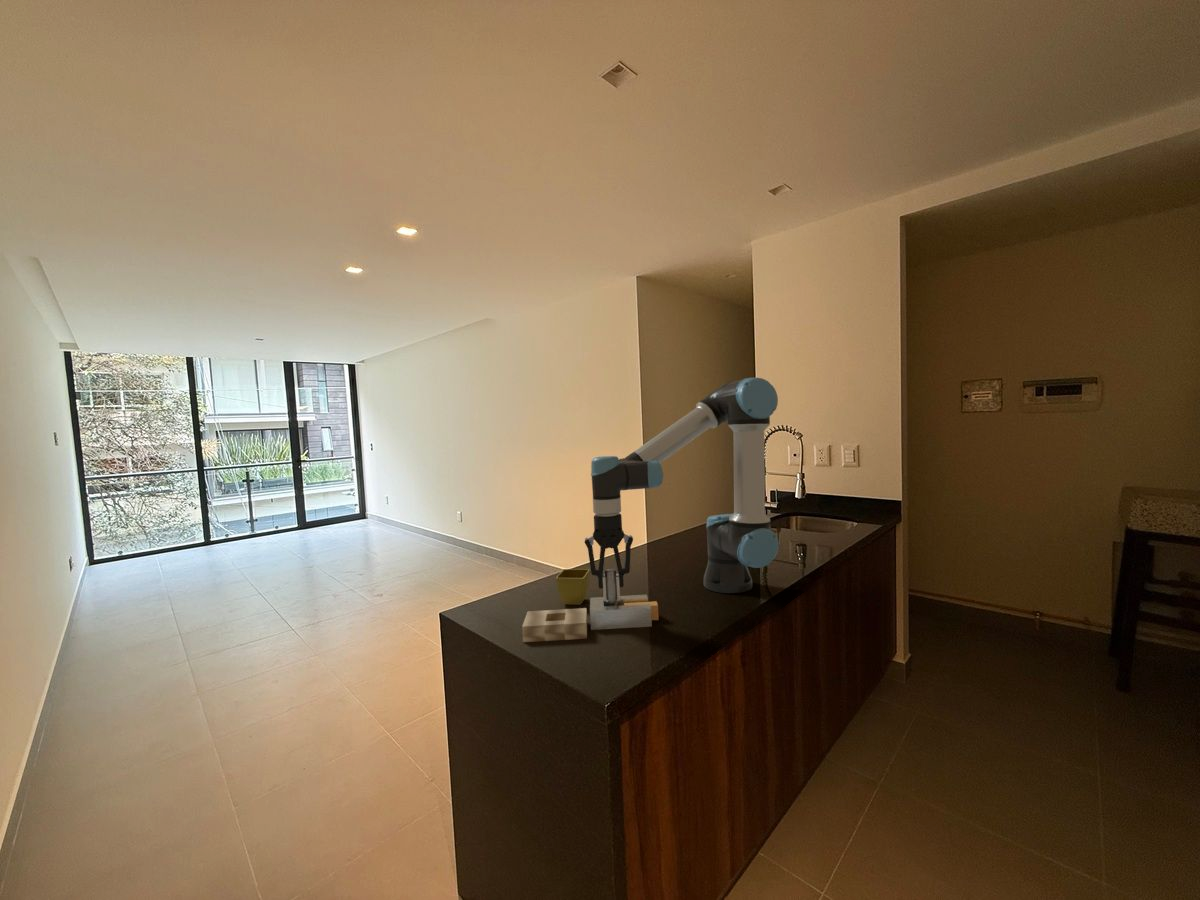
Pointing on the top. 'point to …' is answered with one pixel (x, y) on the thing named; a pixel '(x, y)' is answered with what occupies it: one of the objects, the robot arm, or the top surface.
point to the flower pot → (573, 585)
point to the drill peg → (611, 587)
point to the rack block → (555, 625)
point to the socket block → (620, 613)
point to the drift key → (653, 608)
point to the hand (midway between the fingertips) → (611, 599)
